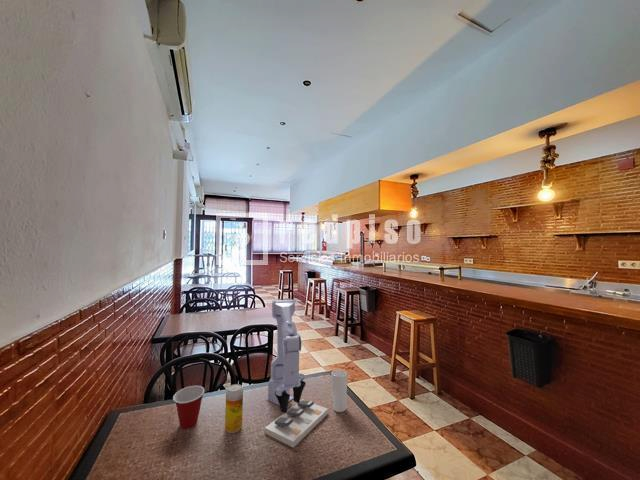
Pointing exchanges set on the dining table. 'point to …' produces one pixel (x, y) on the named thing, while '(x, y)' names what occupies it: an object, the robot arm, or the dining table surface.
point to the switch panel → (297, 425)
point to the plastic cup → (188, 405)
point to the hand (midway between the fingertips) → (290, 406)
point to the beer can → (234, 408)
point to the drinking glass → (339, 389)
